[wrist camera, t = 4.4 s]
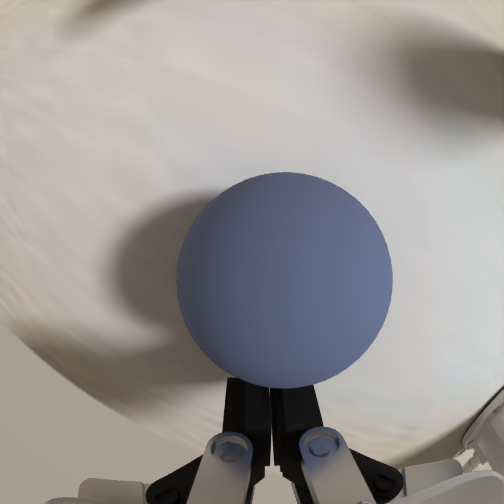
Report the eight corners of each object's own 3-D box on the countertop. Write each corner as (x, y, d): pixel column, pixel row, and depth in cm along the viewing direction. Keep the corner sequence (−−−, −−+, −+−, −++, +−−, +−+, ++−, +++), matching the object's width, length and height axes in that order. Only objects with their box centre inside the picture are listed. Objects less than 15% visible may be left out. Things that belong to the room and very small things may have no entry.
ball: (344, 342, 11) (412, 417, 5) (202, 341, 11) (153, 424, 5) (350, 199, 11) (435, 155, 5) (203, 194, 11) (146, 139, 5)
